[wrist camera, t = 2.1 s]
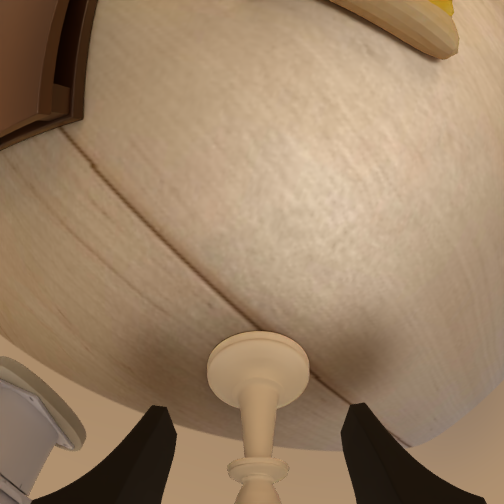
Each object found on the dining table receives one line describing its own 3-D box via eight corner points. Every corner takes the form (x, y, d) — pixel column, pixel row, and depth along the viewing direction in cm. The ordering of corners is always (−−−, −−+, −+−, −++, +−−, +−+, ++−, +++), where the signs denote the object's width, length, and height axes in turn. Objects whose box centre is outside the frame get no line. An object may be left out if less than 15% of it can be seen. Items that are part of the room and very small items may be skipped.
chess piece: (249, 413, 14) (244, 578, 4) (186, 361, 12) (132, 558, 3) (326, 374, 13) (371, 561, 3) (269, 310, 11) (285, 574, 2)
